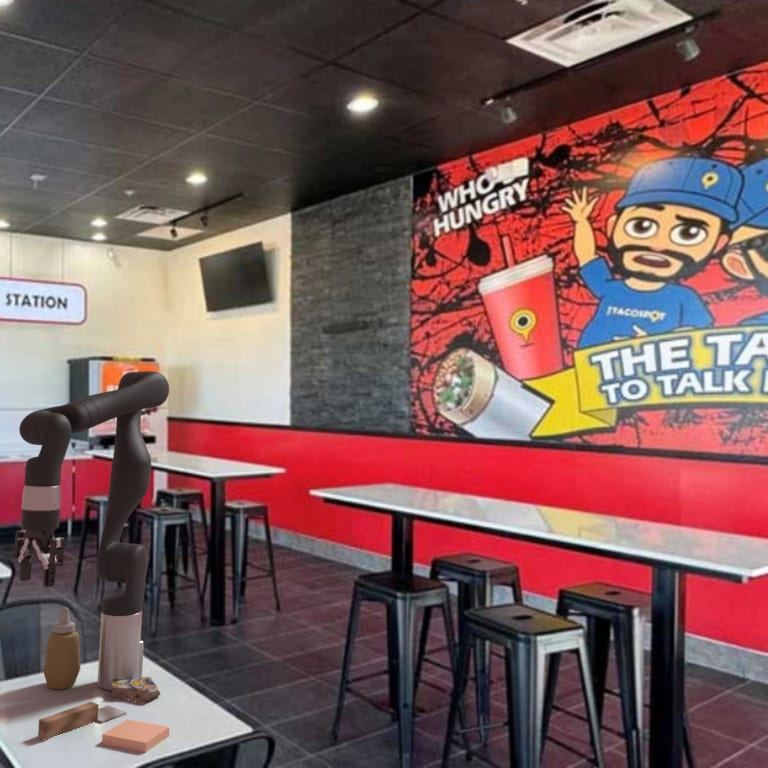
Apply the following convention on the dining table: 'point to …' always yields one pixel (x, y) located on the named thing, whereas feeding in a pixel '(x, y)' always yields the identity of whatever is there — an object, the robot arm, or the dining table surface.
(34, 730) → the dining table surface
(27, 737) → the dining table surface
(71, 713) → the wooden bar with blade
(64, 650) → the squeeze bottle
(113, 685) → the ceramic tile fragment
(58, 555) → the robot arm
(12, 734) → the dining table surface
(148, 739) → the tile
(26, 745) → the dining table surface
